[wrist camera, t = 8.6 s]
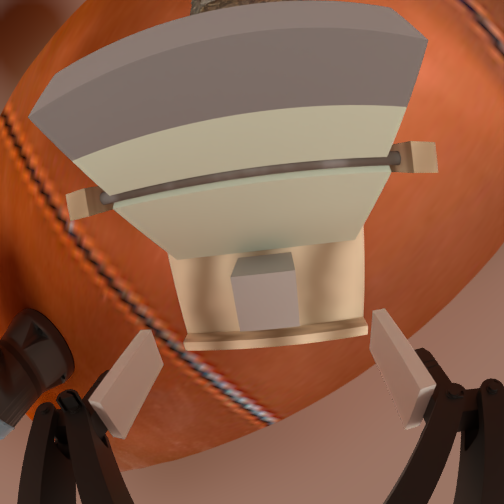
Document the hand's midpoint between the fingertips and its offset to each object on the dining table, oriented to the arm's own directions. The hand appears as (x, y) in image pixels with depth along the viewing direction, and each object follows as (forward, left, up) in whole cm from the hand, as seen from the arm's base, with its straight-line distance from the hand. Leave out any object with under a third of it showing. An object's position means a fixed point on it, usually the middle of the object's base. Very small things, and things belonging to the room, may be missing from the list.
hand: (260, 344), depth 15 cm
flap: (0, +11, -7) cm, 13 cm away
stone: (0, +1, -11) cm, 11 cm away
